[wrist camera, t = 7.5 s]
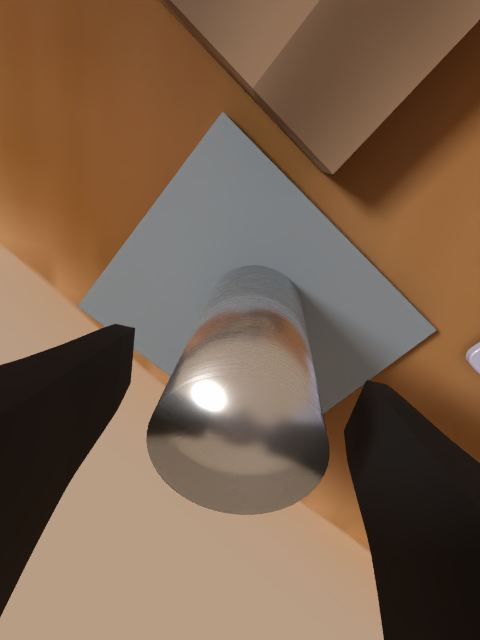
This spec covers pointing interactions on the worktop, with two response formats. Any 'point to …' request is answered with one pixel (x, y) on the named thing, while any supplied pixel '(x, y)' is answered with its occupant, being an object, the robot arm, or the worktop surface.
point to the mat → (252, 249)
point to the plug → (243, 402)
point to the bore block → (327, 59)
